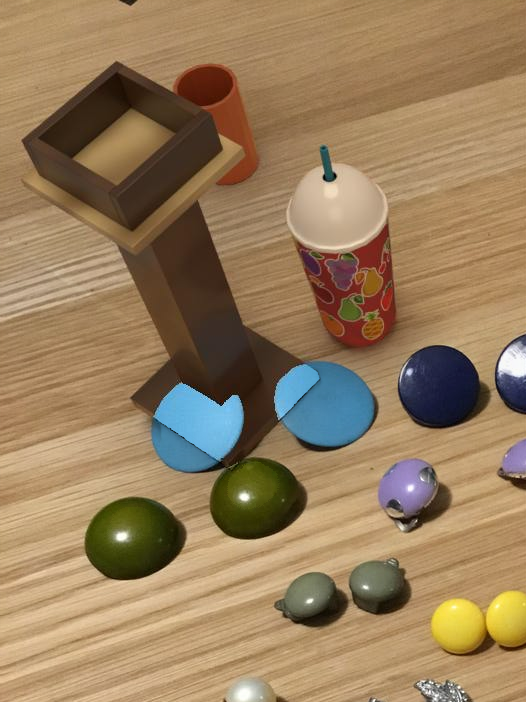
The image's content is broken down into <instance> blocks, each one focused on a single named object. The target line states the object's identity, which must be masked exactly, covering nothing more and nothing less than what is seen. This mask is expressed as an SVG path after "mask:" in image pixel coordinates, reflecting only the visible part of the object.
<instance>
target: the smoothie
mask: <svg viewBox="0 0 526 702" xmlns="http://www.w3.org/2000/svg"><path fill="white" fill-rule="evenodd" d="M318 151H319V155H320V159H321V164H320V165H318V166H315V167H313V168H312V169H310V170H309V171H308V172H307V173H306V174H304V175H303V177H302V178H301V179H300V180H299V182H298V183H297V184H296V186H295V188H294V191H293V194H292V196H291V198H290V199H289V201H288V203H287V207H286V211H285V219H286V226H287V229H288V230H289V231H290V235H291V238H292V240H293V243H294V245H295V248H296V251H297V253H298V257H299V260H300V262H301V265H302V268H303V271H304V273H305V276H306V279H307V282H308V284H309V287H310V290H311V293H312V297H313V299H314V302H315V304H316V307H317V309H318V313H319V315H320V318H321V321H322V323H323V324H322V325H323V326H324V327H325V329H326V331H327V332H328V334H330V335H331V336H333V337H334V338H335V339H336V340H338V341H339V342H341V343H342V344H344V345H346V346H349V347H354V348H355V347H358V348H362V347H363V348H364V347H368V346H372V345H374V344H376V343H379V342H380V341H381V340H383V338H385V337H386V336H387V335H388V333H389V331H390V329H391V327H392V325H393V324H394V322H395V321H396V315H397V304H396V303H397V302H396V291H395V288H396V287H395V278H394V265H393V255H392V243H391V241H392V240H391V231H390V230H391V229H390V227H391V226H390V218H389V211H390V210H389V202H388V197H387V196H386V194H385V193H384V190H383V189H382V187H381V186H380V185H378V184H377V183H376V182H374V181H373V179H371V178H370V177H369V176H368V174H366V173H364V172H363V171H362V170H360V169H359V168H357V167H356V166H353V165H349V164H347V163H343V162H331V157H330V152H329V147H328V145H325V144H321V145H320V146H319V150H318Z"/></svg>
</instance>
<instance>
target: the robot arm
mask: <svg viewBox="0 0 526 702" xmlns="http://www.w3.org/2000/svg"><path fill="white" fill-rule="evenodd" d="M118 1H119V2H121V3H122V4H125V5H127V6H130V7H132V6H133V5H134V4H135V3H136V2H138V0H118Z"/></svg>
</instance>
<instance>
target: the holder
mask: <svg viewBox="0 0 526 702" xmlns="http://www.w3.org/2000/svg"><path fill="white" fill-rule="evenodd" d="M20 141H21V143H22V145H23V147H24V149H25V151H26V153H27V155H28V156H29V158H30V161H31V163H32V164H33V167H32V168H30V169H29V170H28V171H26V173H24V174H23V175H22V176H21V177H20V178H19V180H20V182H21V183H22V185H23V187H24V188H26V189H27V190H29V191H30V192H32V193H34V194H35V195H37V196H38V197H40V198H42V199H43V200H45V201H46V202H48V203H50V204H51V205H53V206H54V207H56V208H58V209H59V210H61V211H63V212H64V213H65V214H67V215H69V216H70V217H73V218H74V219H75V220H78V221H79V222H80V223H82V224H84V225H85V226H87V227H89V228H90V229H92V230H93V231H95V232H97V233H98V234H100V235H101V236H103V237H105V238H106V239H108V240H110V241H112V242H113V243H114V244H116V246H117V249H118V251H119V253H120V256H121V257H122V259H123V262H124V264H125V265H126V267H127V270H128V272H129V274H130V276H131V278H132V281H133V282H134V285H135V287H136V289H137V291H138V293H139V295H140V297H141V299H142V301H143V304H144V306H145V308H146V310H147V312H148V315H149V316H150V319H151V320H152V322H153V325H154V326H155V329H156V331H157V334H158V336H159V337H160V338H159V339H161V342H162V344H163V346H164V348H165V350H166V352H167V354H168V356H169V359H168V360H167V361H166V362H165V363H164V364H163V365H162V366H161V367H160V368H159V369H157V371H156V372H155V373H154V374H152V376H150V377H149V379H148V380H147V381H145V382H144V384H142V385H141V387H139V388H138V389H137V390H136V391H135V392H134V393H133V394H132V395H131V396H130V397H129V398H130V400H131V403H132V404H133V406H134V407H135V408H137V409H139V410H140V411H142V412H143V413H145V414H146V415H148V416H149V417H150V418H152V419H154V418H153V416H154V415H155V412H156V410H157V408H158V407H159V405H160V403H161V401H162V400H163V398H164V397H165V396H166V395H167V394H168V393H169V392H170V391H171V390H172V389H173V388H174V387H175V386H176V385H178V384H179V383H181V382H182V383H183V384H186V385H188V386H190V387H191V388H193V389H195V390H196V391H198V392H200V393H202V394H203V395H205V396H207V397H208V398H210V399H211V400H213V401H215V402H216V403H217V404H219V405H220V406H222V405H223V404H224V402H226V400H228V399H229V398H230V397H231V396H232V395H238V396H239V398H240V400H241V403H242V406H243V411H244V424H243V428H242V433H241V435H240V438H239V440H238V442H237V444H236V445H235V446H234V448H233V450H232V451H231V452H230V453H229V454H228V455H226V456H225V457H224V458H221V460H222V464H223V465H222V464H221V465H222V466H223V467H224V468H226V469H228V467H230V466H232V465H234V464H236V463H237V462H239V461H241V460H242V461H243V460H244V459H245V458H246V457H247V456H248V454H250V452H252V450H253V449H254V448H255V447H256V446H257V445H258V444H259V443H260V442H261V441H262V440H263V439H264V438H265V437H266V436H267V435H268V434H269V433H270V432H271V431H272V430H273V429H274V428H275V426H276V425H278V424H279V423H280V421H279V420H278V417H277V413H276V411H275V403H274V396H275V390H276V386H277V383H278V382H279V380H280V379H281V378H282V377H283V376H285V374H287V373H288V372H289V371H290V370H291V369H292V368H294V367H296V366H299V365H303V364H307V363H306V362H305V361H303V360H301V359H300V358H298V357H296V356H295V355H293V354H291V352H288V351H287V350H285V349H284V348H282V347H280V346H279V345H277V344H276V343H274V342H272V341H270V340H269V339H267V338H265V337H264V336H262V334H260V333H258V332H256V331H254V330H253V329H251V328H249V327H248V326H246V325H245V324H244V323H243V320H242V317H241V315H240V312H239V309H238V306H237V303H236V300H235V297H234V296H233V293H232V289H231V287H230V284H229V281H228V279H227V275H226V273H225V271H224V270H225V269H224V268H223V264H222V262H221V260H220V256H219V254H218V251H217V248H216V245H215V242H214V240H213V237H212V234H211V231H210V229H209V226H208V224H207V221H206V218H205V215H204V212H203V210H202V206H201V204H200V202H199V199H200V198H202V196H204V195H205V194H206V193H207V192H208V191H209V190H210V189H211V188H212V187H214V185H215V184H216V183H217V182H218V181H219V180H220V179H221V178H222V177H223V176H224V175H225V174H226V173H227V172H229V171H230V170H231V169H232V168H233V167H234V166H235V165H236V164H237V163H238V162H240V161H241V160H242V159H243V158H244V157H245V153H244V149H243V147H242V146H240V145H238V144H236V143H235V142H233V141H231V140H229V139H227V138H226V137H224V136H222V135H220V134H218V131H217V128H216V125H215V122H214V119H213V116H212V114H211V113H210V112H208V111H206V110H203V108H201V107H199V106H197V105H196V104H194V103H192V102H190V101H188V100H186V99H185V98H183V97H181V96H179V95H177V94H176V93H174V92H173V90H170V89H168V88H166V87H165V86H163V85H161V84H160V83H157V82H156V81H154V80H152V79H151V78H148V77H147V76H145V75H144V74H142V73H140V72H137V71H136V70H134V69H133V68H130V67H128V66H126V65H125V64H123V63H122V62H120V61H118V60H115V61H114V62H113V63H112V64H110V66H108V67H107V68H106V69H104V70H103V71H102V72H101V73H100V74H99V75H97V76H96V77H95V78H94V79H92V81H90V82H89V83H87V84H86V85H85V86H84V87H83V88H82V89H80V90H79V91H78V92H77V93H76V94H74V95H73V96H72V97H71V98H69V99H68V100H67V101H66V102H65V103H64V104H63V105H61V106H60V107H58V109H56V110H55V111H54V112H53V113H52V114H50V115H49V116H48V117H47V118H46V119H45V120H43V121H42V122H41V123H40V124H39V125H37V126H36V127H35V128H33V130H31V131H30V132H29V133H28V134H27V135H25V136H24V137H23V138H22V139H21V140H20ZM264 436H265V437H264ZM262 438H263V439H262ZM260 440H261V441H260ZM242 461H241V462H242Z"/></svg>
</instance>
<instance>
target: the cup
mask: <svg viewBox="0 0 526 702" xmlns="http://www.w3.org/2000/svg"><path fill="white" fill-rule="evenodd" d="M172 92H174V93H176V94H177V95H179V96H181V97H183V98H185V99H186V100H188V101H190V102H192V103H194V104H196V105H197V106H199V107H201V108H203V110H206V111H208V112H210V113H211V114H212V116H213V119H214V122H215V125H216V128H217V131H218V134H220V135H222V136H224V137H226V138H227V139H229V140H231V141H233V142H235V143H236V144H238V145H240V146H242V147H243V149H244V153H245V157H244V158H243V159H242V160H241V161H240V162H238V163H237V164H236V165H235V166H234V167H233V168H232V169H231V170H230V171H229V172H227V173H226V174H225V175H224V176H223V177H222V178H221V179H220V180H219V181H218V182H217V183H215V184H217V185H223V186H227V185H234V184H238V183H240V182H243V181H246V179H248V178H249V177H251V176H252V175H253V174H254V173H255V171H256V170H257V168H258V166H259V162H260V157H259V152H258V147H257V144H256V140H255V137H254V133H253V129H252V127H251V123H250V119H249V116H248V112H247V108H246V105H245V101H244V98H243V94H242V91H241V88H240V84H239V81H238V77H237V76H236V74H235V73H234V71H233V70H232V69H230V68H229V67H227V66H225V65H223V64H219V63H212V62H209V63H200V64H196V65H193V66H192V67H189V68H188V69H186V70H184V71H183V72H182V73H181V74H179V75H178V76H177V77H176V79H175V81H174V84H173V86H172ZM255 169H256V170H255ZM253 172H254V173H253Z"/></svg>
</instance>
